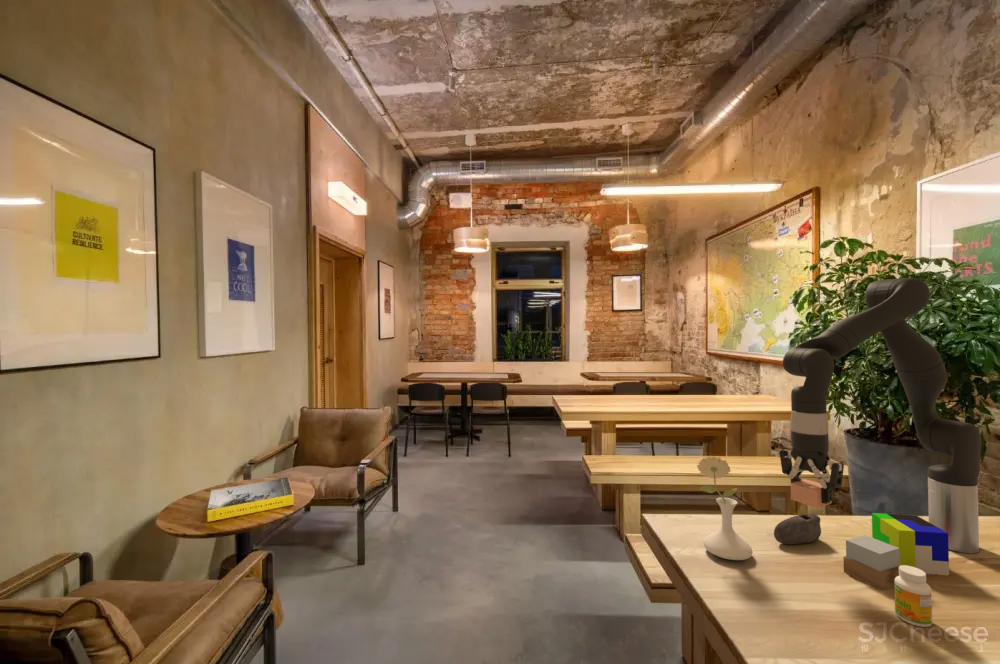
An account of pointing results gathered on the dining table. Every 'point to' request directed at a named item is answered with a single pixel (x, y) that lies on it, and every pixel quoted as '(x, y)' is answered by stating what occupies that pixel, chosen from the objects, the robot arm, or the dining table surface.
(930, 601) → the supplement bottle
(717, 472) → the flower in vase
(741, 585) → the dining table surface
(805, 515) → the perforated stone tool
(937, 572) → the puzzle toy
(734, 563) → the dining table surface
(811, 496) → the clay block
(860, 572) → the tower base
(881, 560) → the tower top
